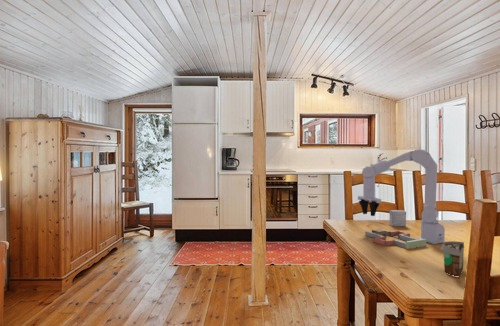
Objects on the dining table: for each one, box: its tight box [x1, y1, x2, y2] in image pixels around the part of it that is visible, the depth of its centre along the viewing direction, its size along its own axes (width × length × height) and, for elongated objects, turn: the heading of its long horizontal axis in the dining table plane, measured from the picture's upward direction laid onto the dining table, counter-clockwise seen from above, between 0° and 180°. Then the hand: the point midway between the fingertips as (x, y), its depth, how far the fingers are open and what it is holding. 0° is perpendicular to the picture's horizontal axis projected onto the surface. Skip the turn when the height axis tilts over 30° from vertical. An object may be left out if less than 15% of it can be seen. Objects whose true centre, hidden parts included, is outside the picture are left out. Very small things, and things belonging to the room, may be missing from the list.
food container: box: [440, 240, 465, 278], centre depth 115 cm, size 12×6×10 cm, turn 141°
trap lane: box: [364, 228, 427, 250], centre depth 157 cm, size 26×22×3 cm
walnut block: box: [371, 228, 387, 237], centre depth 166 cm, size 4×5×3 cm
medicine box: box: [388, 209, 407, 227], centre depth 188 cm, size 8×4×9 cm, turn 84°
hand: (368, 214), depth 172 cm, fingers open, 5 cm apart
